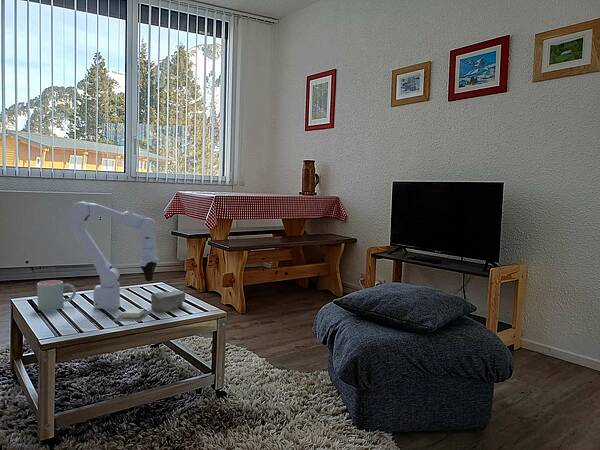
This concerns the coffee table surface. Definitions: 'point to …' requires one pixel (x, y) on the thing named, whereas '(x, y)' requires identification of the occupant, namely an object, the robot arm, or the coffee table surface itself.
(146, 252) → the robot arm
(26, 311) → the coffee table surface
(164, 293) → the decorative stone
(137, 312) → the tile
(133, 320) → the mat
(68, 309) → the coffee table surface
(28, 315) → the coffee table surface
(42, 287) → the mug
